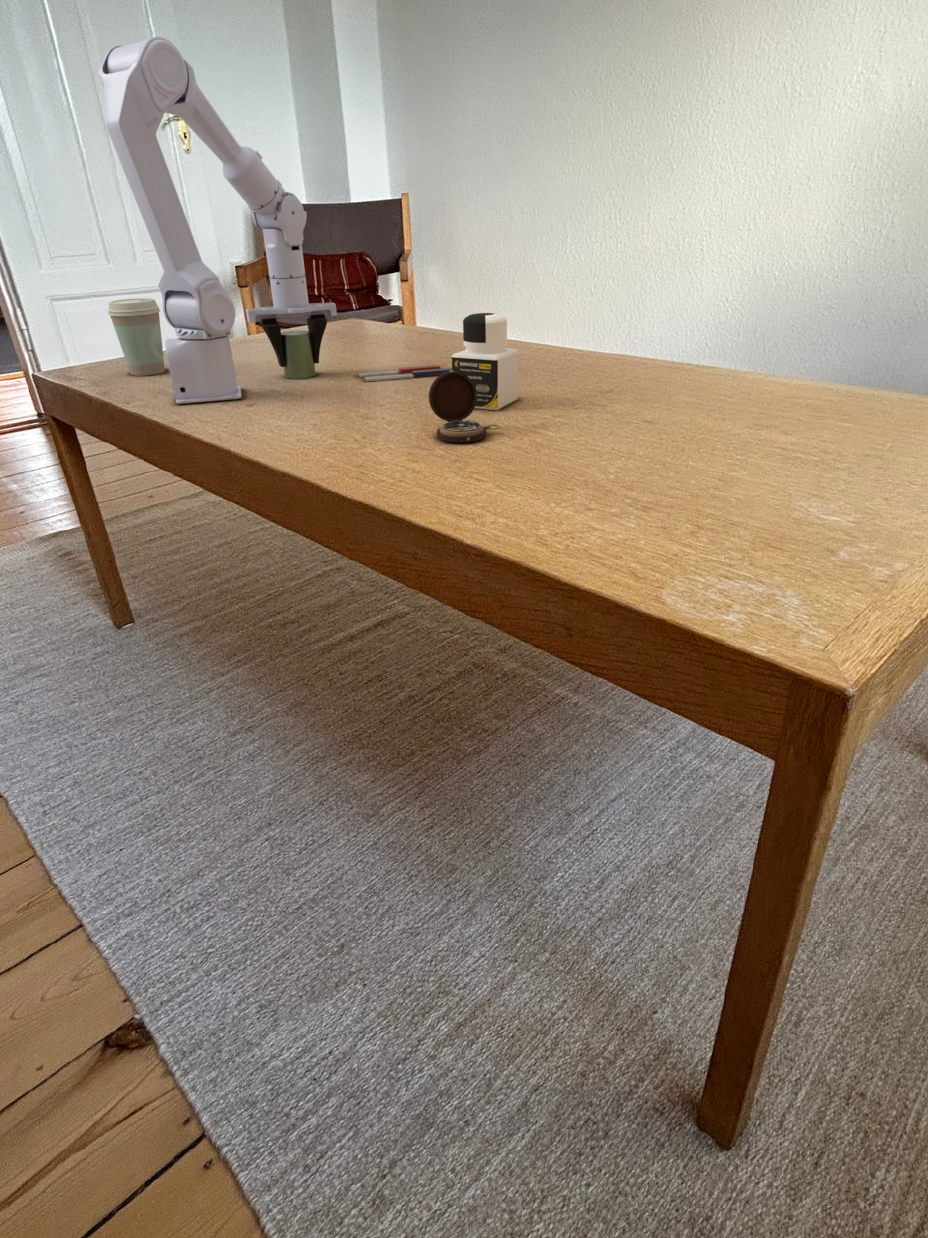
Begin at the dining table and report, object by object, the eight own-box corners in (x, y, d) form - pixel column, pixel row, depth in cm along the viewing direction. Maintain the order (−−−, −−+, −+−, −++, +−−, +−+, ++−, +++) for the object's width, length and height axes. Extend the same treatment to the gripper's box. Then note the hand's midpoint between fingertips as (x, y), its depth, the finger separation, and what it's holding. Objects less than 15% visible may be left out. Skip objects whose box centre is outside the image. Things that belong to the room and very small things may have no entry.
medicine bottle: (452, 406, 107) (449, 316, 101) (475, 395, 112) (473, 309, 106) (497, 411, 104) (497, 318, 98) (518, 399, 109) (519, 311, 103)
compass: (444, 446, 90) (441, 384, 86) (429, 429, 96) (426, 371, 93) (507, 440, 91) (507, 378, 88) (489, 423, 98) (488, 366, 95)
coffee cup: (162, 376, 131) (146, 302, 125) (114, 377, 131) (96, 304, 126) (179, 367, 139) (165, 297, 133) (134, 368, 139) (117, 298, 133)
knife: (366, 381, 123) (365, 376, 123) (364, 379, 125) (364, 374, 124) (454, 374, 127) (454, 369, 126) (451, 372, 128) (451, 367, 128)
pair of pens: (360, 377, 126) (359, 372, 126) (358, 375, 128) (358, 370, 127) (440, 371, 129) (440, 366, 129) (438, 369, 131) (438, 364, 130)
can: (288, 380, 126) (282, 336, 123) (282, 374, 130) (276, 331, 127) (319, 376, 128) (313, 333, 124) (312, 371, 132) (306, 329, 128)
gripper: (246, 281, 116) (260, 372, 122) (337, 275, 121) (346, 363, 127) (239, 278, 121) (252, 365, 128) (326, 272, 126) (335, 357, 133)
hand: (298, 364), depth 128 cm, fingers closed on can, 5 cm apart
